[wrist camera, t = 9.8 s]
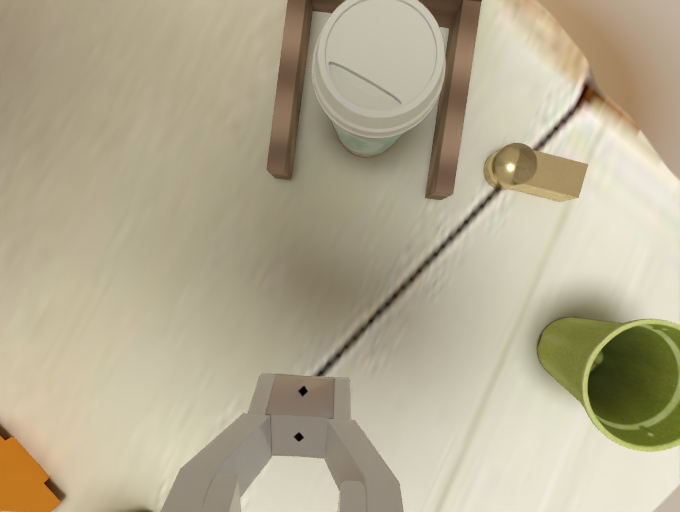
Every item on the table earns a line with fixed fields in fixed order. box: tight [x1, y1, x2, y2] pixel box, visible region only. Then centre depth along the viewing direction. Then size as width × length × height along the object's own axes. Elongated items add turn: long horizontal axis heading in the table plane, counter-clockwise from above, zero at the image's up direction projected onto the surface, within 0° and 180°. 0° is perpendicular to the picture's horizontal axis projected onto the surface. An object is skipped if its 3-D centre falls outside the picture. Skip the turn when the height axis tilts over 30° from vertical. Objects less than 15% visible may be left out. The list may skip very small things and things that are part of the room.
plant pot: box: [538, 317, 680, 452], centre depth 27 cm, size 9×9×9 cm
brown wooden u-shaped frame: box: [267, 0, 482, 200], centre depth 26 cm, size 18×16×9 cm
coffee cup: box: [311, 0, 446, 157], centre depth 25 cm, size 8×9×12 cm
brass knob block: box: [484, 143, 588, 202], centre depth 30 cm, size 8×4×2 cm, turn 75°
